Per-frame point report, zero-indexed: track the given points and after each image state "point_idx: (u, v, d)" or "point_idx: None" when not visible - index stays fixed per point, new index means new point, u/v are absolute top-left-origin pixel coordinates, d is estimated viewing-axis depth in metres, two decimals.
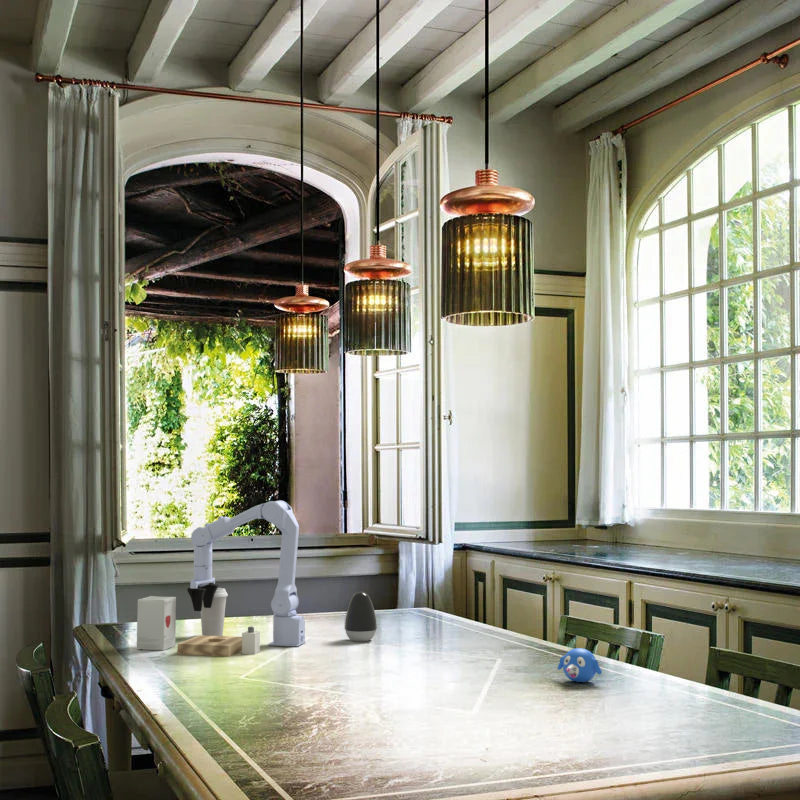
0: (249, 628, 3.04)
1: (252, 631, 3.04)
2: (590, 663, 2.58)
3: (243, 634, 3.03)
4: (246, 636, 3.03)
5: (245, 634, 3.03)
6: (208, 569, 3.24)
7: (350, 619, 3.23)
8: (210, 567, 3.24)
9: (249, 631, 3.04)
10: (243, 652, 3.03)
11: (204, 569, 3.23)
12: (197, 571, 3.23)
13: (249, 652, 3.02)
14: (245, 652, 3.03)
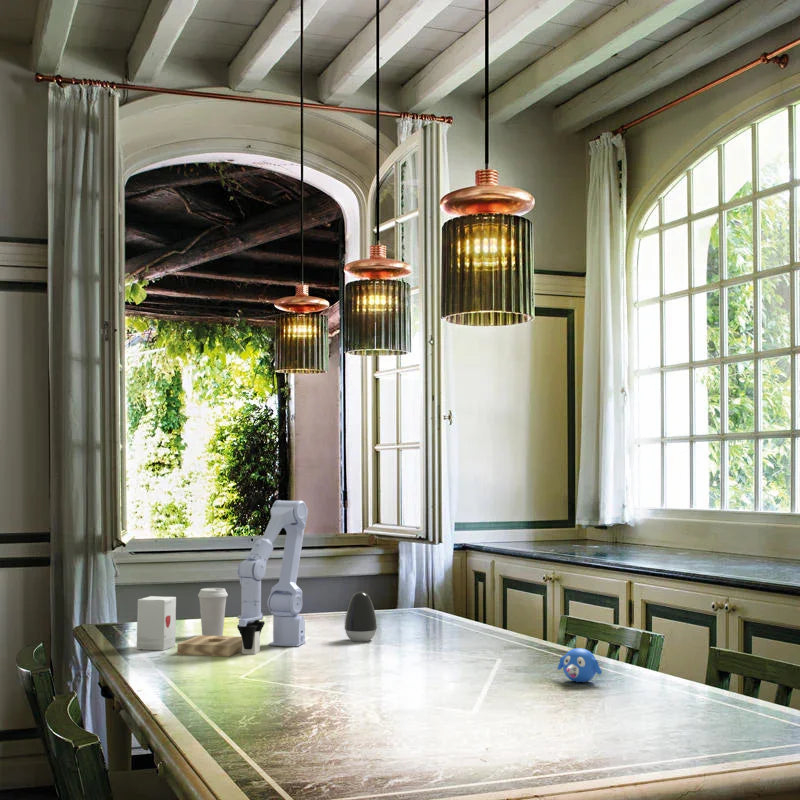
0: None
1: None
2: (590, 663, 2.58)
3: None
4: None
5: None
6: (257, 605, 3.03)
7: (350, 619, 3.23)
8: (259, 603, 3.04)
9: None
10: (243, 652, 3.03)
11: (253, 605, 3.03)
12: (245, 607, 3.03)
13: (249, 652, 3.02)
14: (245, 652, 3.03)
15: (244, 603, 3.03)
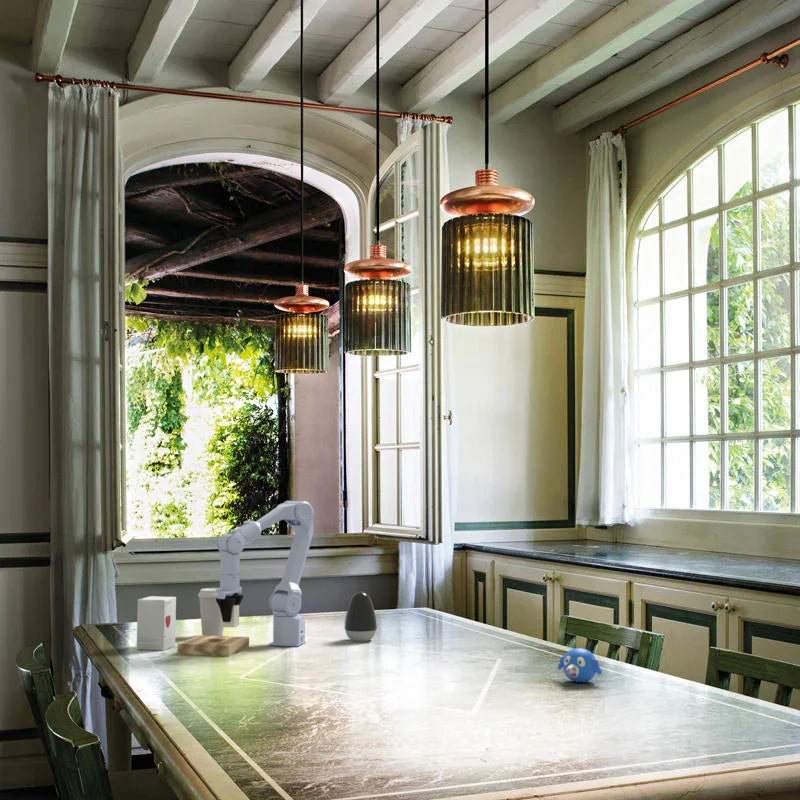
0: None
1: None
2: (590, 663, 2.58)
3: None
4: None
5: None
6: (236, 578, 3.06)
7: (350, 619, 3.23)
8: (238, 576, 3.07)
9: None
10: (222, 625, 3.05)
11: (231, 578, 3.05)
12: (224, 580, 3.05)
13: (228, 625, 3.05)
14: (224, 625, 3.05)
15: (223, 576, 3.06)
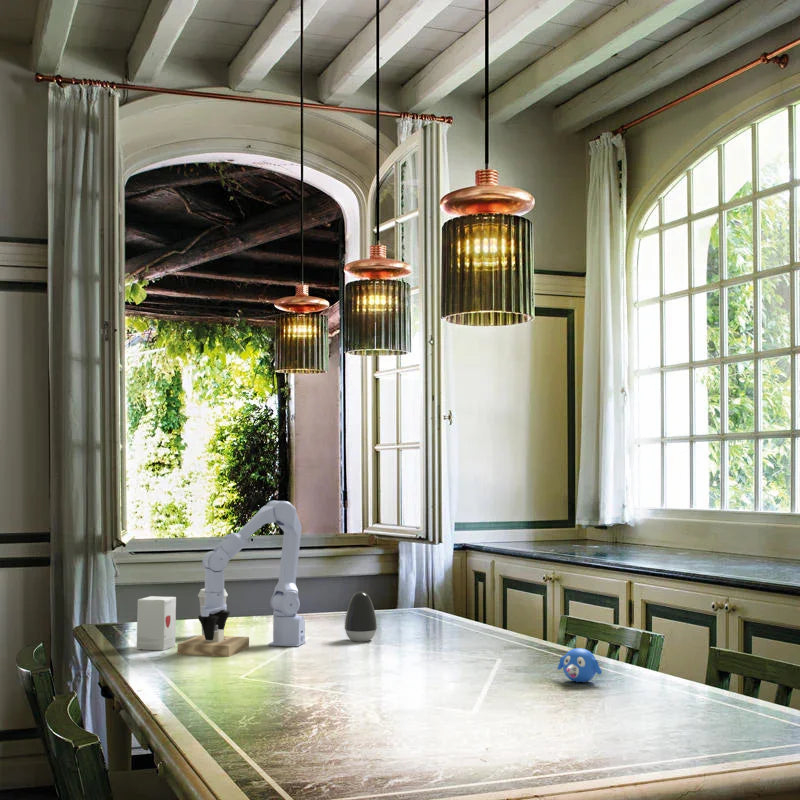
0: None
1: (216, 629, 3.08)
2: (590, 663, 2.58)
3: None
4: None
5: None
6: (220, 596, 3.07)
7: (350, 619, 3.23)
8: (222, 593, 3.08)
9: None
10: None
11: (216, 596, 3.06)
12: (208, 597, 3.07)
13: None
14: None
15: (207, 594, 3.07)
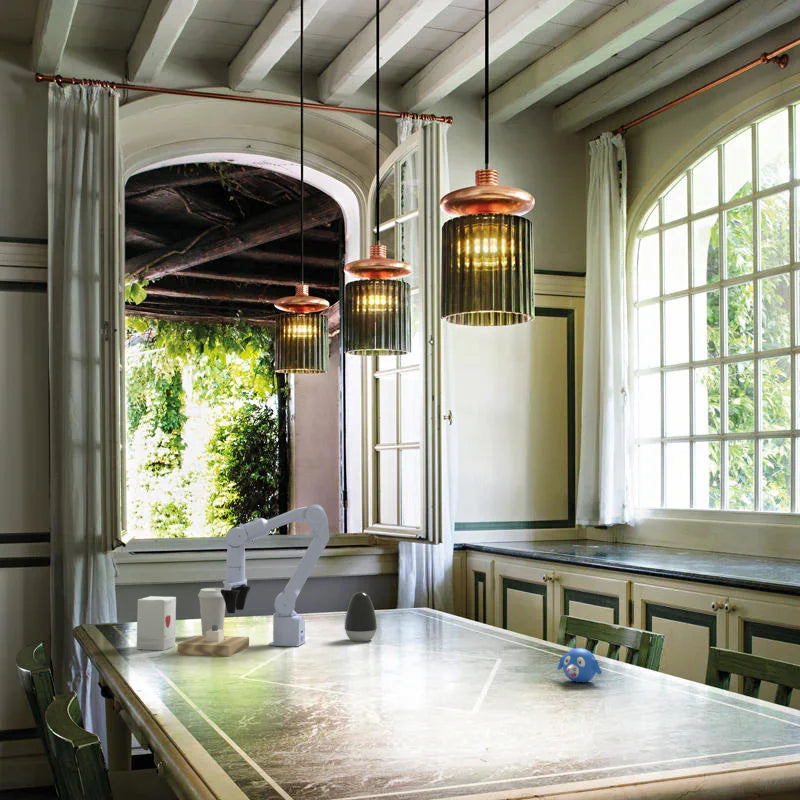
0: (213, 626, 3.08)
1: (216, 629, 3.08)
2: (590, 663, 2.58)
3: (207, 632, 3.07)
4: (210, 634, 3.06)
5: (209, 632, 3.07)
6: (241, 570, 3.17)
7: (350, 619, 3.23)
8: (243, 568, 3.18)
9: (213, 629, 3.08)
10: None
11: (237, 570, 3.16)
12: (230, 572, 3.17)
13: None
14: None
15: (229, 568, 3.17)
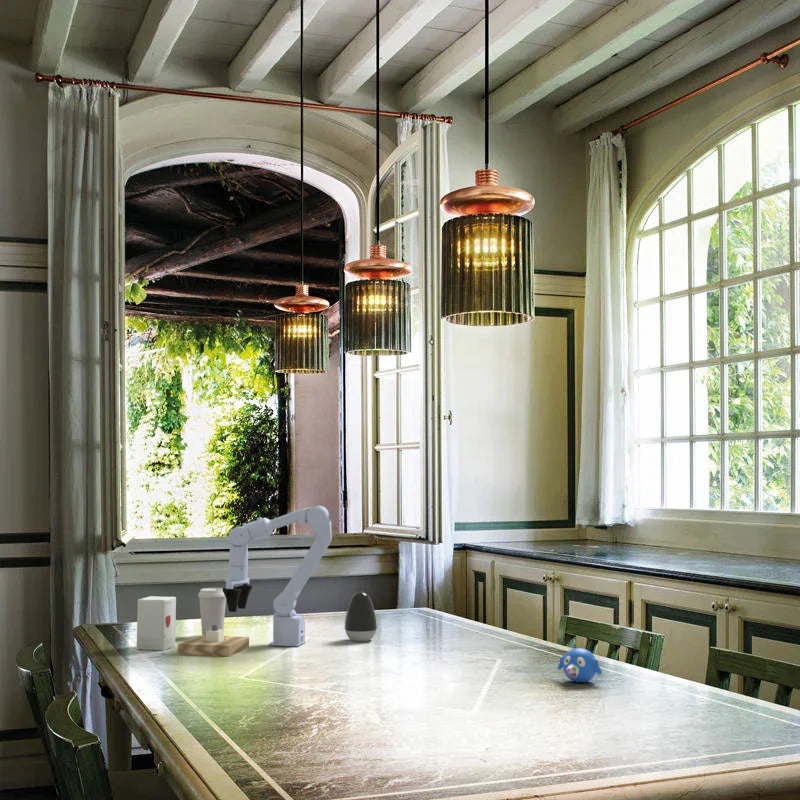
0: (213, 626, 3.08)
1: (216, 629, 3.08)
2: (590, 663, 2.58)
3: (207, 632, 3.07)
4: (210, 634, 3.06)
5: (209, 632, 3.07)
6: (244, 569, 3.19)
7: (350, 619, 3.23)
8: (246, 567, 3.19)
9: (213, 629, 3.08)
10: None
11: (240, 569, 3.18)
12: (232, 571, 3.18)
13: None
14: None
15: (231, 567, 3.18)
